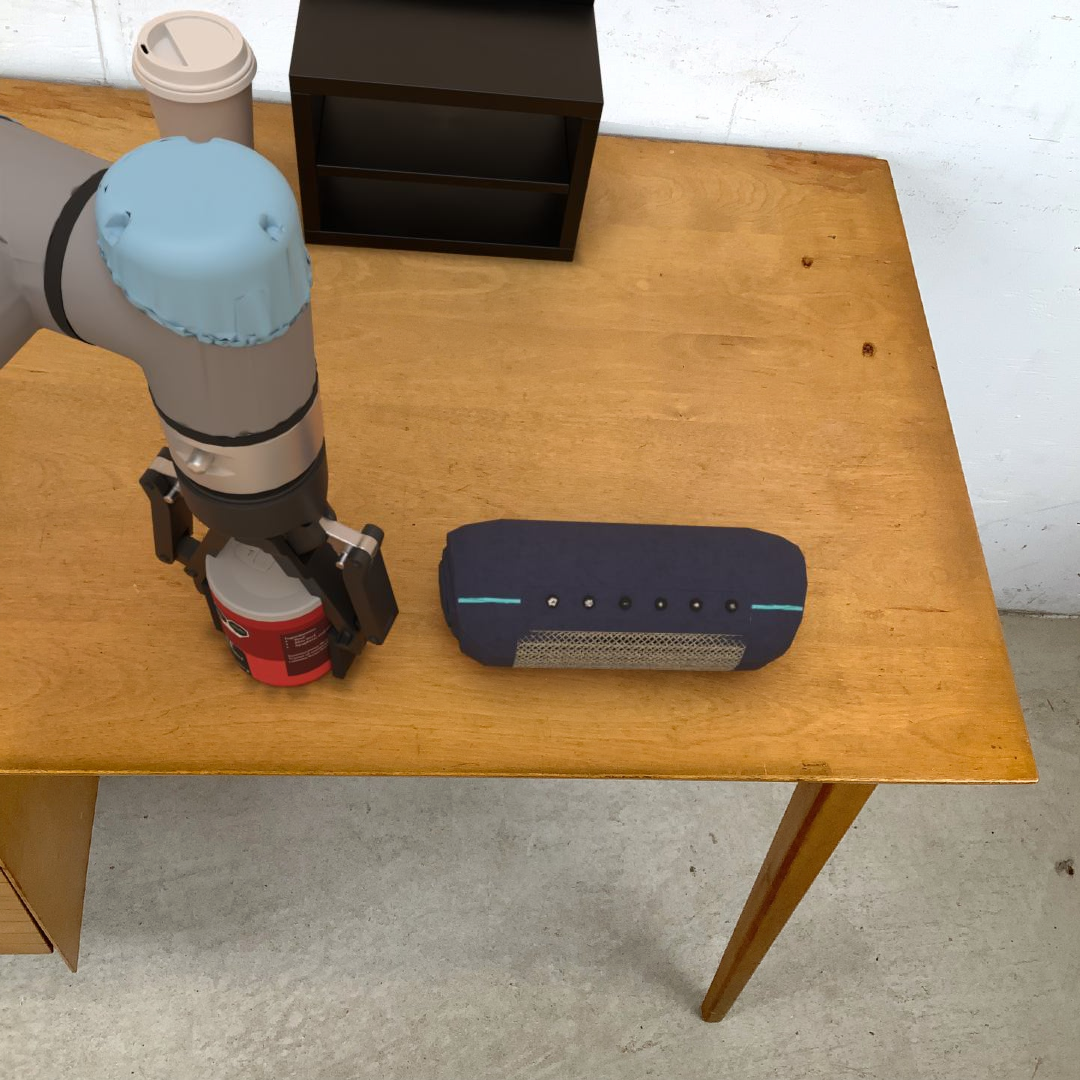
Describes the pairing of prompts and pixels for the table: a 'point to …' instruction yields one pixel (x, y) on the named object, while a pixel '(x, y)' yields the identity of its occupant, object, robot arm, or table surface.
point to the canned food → (268, 617)
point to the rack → (446, 123)
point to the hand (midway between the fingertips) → (288, 637)
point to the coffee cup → (197, 76)
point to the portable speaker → (621, 595)
